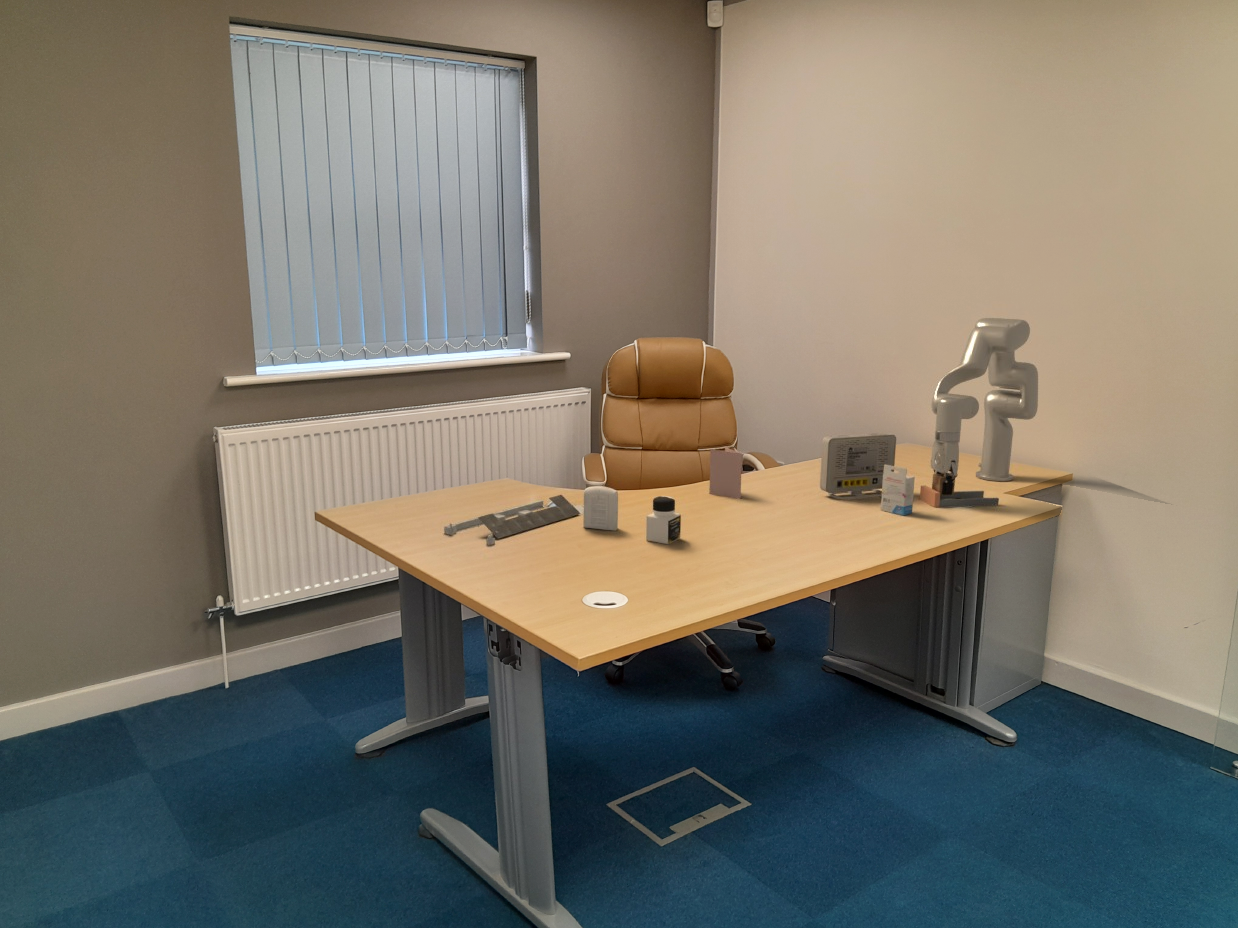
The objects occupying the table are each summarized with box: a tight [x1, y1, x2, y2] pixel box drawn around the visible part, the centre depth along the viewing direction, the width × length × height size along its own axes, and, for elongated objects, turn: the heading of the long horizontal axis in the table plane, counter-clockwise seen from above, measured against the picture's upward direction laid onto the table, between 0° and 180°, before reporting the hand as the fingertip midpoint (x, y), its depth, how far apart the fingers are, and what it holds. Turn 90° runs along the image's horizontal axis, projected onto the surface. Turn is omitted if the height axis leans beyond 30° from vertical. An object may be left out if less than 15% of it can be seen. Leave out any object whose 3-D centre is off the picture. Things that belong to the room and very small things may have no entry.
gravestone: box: [582, 485, 619, 531], centre depth 265 cm, size 10×4×12 cm, turn 72°
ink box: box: [880, 465, 916, 516], centre depth 284 cm, size 8×5×15 cm, turn 39°
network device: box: [819, 432, 897, 500], centre depth 304 cm, size 26×9×20 cm, turn 108°
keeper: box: [931, 473, 956, 496], centre depth 296 cm, size 5×5×6 cm
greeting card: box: [708, 446, 743, 499], centre depth 303 cm, size 11×7×15 cm, turn 22°
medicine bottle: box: [645, 495, 682, 545], centre depth 255 cm, size 7×7×12 cm
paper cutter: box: [443, 494, 584, 546], centre depth 271 cm, size 18×45×6 cm, turn 140°
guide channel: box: [919, 485, 1000, 508], centre depth 297 cm, size 10×22×4 cm, turn 98°
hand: (942, 491), depth 296 cm, fingers closed on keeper, 5 cm apart
